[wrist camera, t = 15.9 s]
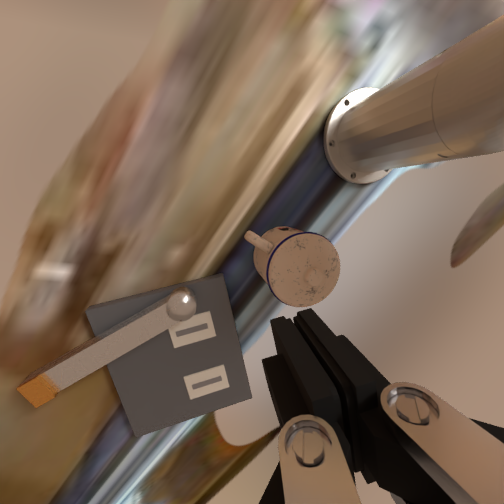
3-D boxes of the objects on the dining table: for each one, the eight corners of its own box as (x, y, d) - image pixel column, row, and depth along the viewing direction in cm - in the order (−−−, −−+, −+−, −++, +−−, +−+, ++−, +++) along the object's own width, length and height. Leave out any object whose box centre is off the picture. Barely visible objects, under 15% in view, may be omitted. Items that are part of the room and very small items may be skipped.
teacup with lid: (320, 244, 38) (370, 263, 27) (288, 293, 39) (324, 332, 28) (256, 201, 35) (284, 202, 24) (222, 256, 36) (233, 282, 24)
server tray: (222, 272, 36) (224, 277, 34) (250, 390, 41) (253, 400, 39) (89, 306, 33) (83, 313, 31) (137, 428, 38) (134, 441, 36)
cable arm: (187, 281, 33) (186, 290, 30) (201, 303, 34) (201, 313, 31) (29, 371, 31) (11, 389, 28) (49, 391, 32) (33, 411, 29)
